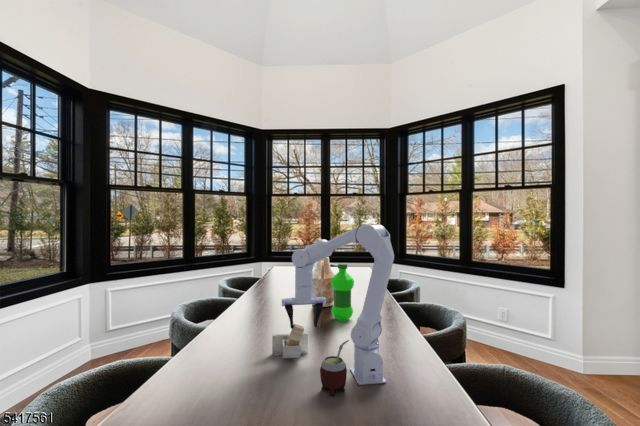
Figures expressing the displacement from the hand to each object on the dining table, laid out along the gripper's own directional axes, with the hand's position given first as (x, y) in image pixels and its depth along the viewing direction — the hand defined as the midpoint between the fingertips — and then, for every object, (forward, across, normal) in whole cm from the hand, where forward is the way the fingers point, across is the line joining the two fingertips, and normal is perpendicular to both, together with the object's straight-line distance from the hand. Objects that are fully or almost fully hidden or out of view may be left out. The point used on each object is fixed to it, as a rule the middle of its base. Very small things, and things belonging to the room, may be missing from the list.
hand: (303, 326), depth 105 cm
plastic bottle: (+10, -22, -36) cm, 44 cm away
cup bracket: (+10, +4, 0) cm, 11 cm away
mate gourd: (+10, -6, +21) cm, 24 cm away
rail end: (+7, +4, +1) cm, 8 cm away
